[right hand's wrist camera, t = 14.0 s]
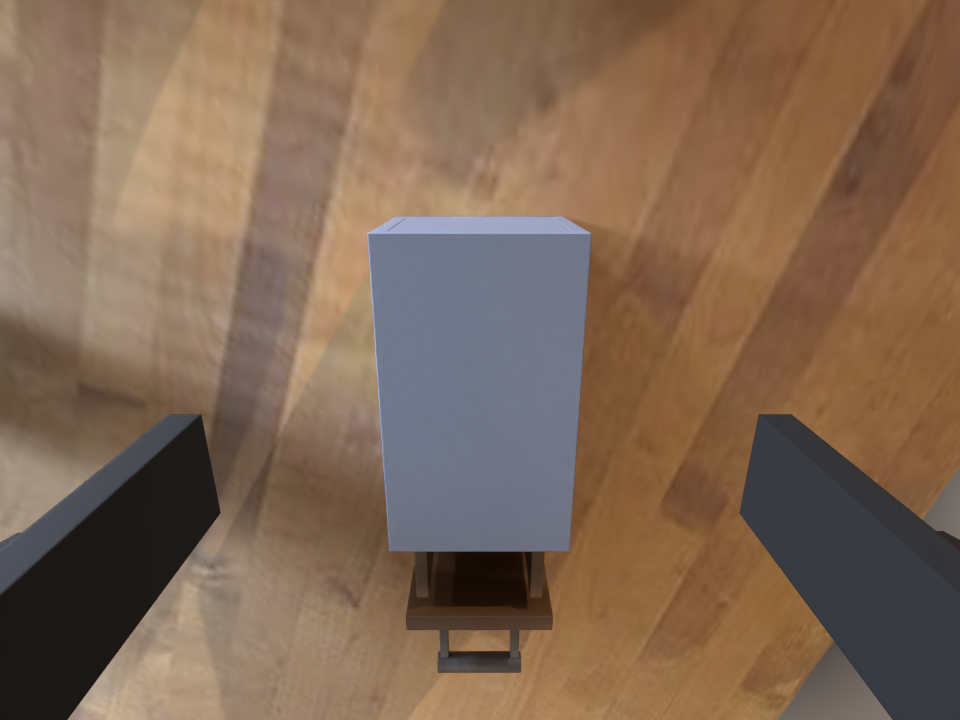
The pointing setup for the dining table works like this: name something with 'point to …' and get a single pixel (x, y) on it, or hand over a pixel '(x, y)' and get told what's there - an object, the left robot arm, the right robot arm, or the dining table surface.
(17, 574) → the right robot arm
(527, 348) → the cabinet
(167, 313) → the dining table surface
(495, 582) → the drawer
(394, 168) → the dining table surface
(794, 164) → the dining table surface
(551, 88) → the dining table surface
